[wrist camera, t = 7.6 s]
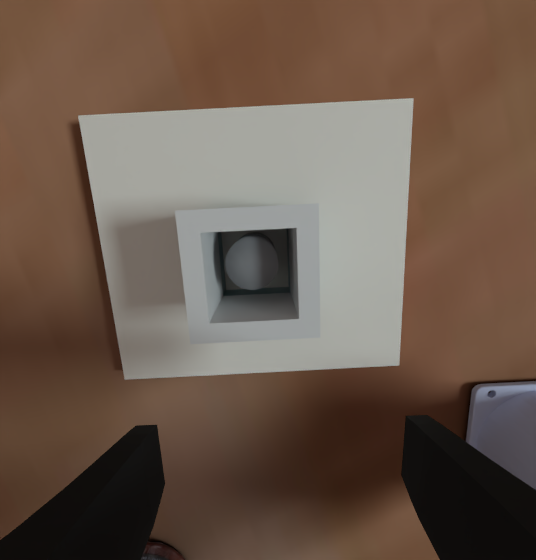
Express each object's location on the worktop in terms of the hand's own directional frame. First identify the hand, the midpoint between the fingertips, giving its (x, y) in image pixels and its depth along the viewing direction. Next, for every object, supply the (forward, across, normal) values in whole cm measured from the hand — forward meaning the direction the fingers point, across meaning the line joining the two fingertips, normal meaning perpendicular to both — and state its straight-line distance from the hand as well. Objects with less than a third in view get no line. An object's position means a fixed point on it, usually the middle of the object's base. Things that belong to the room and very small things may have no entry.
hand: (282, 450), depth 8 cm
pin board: (+9, +1, -5) cm, 10 cm away
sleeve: (+8, +1, -4) cm, 9 cm away
